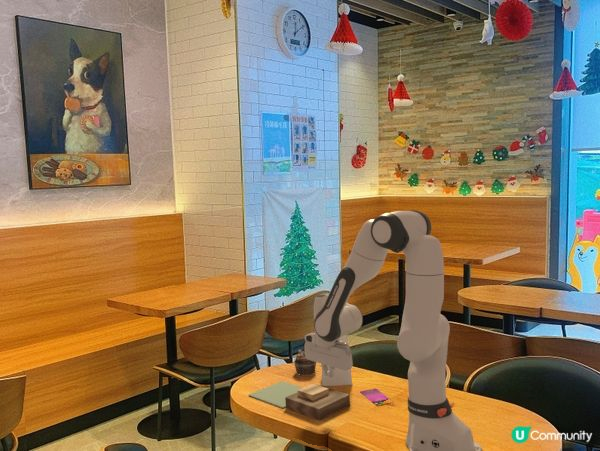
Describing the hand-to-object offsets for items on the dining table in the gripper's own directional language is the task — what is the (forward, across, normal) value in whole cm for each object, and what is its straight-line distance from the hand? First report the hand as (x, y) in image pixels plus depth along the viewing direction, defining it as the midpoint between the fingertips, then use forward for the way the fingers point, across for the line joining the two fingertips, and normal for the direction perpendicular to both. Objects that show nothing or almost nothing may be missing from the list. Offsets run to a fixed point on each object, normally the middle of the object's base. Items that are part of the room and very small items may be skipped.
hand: (328, 376), depth 198 cm
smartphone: (+13, -5, -20) cm, 24 cm away
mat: (+13, +25, 0) cm, 28 cm away
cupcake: (+14, +36, -23) cm, 45 cm away
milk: (+13, +19, -24) cm, 33 cm away
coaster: (+9, +8, 0) cm, 12 cm away
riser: (+13, +6, 0) cm, 14 cm away
